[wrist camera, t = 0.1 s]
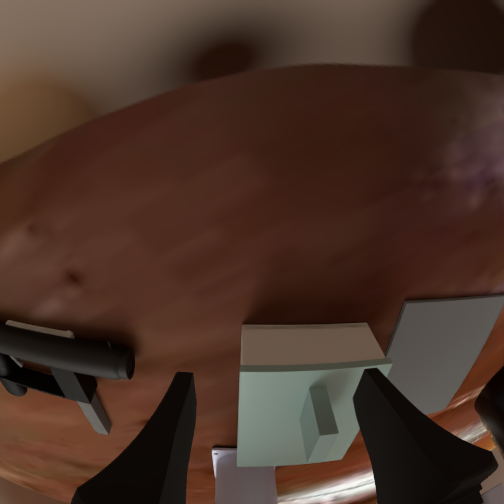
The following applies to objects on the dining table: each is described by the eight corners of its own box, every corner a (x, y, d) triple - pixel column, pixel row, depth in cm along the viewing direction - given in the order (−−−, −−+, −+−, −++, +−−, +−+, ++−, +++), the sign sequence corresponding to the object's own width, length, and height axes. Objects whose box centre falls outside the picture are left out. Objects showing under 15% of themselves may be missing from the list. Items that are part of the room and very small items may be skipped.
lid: (338, 447, 26) (349, 491, 21) (236, 453, 25) (237, 501, 20) (385, 348, 20) (414, 406, 15) (239, 354, 19) (241, 424, 14)
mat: (442, 407, 31) (443, 409, 30) (350, 427, 30) (351, 429, 30) (504, 293, 23) (507, 295, 23) (404, 300, 23) (406, 303, 22)
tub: (330, 421, 29) (338, 454, 25) (238, 425, 28) (238, 460, 24) (366, 322, 23) (386, 360, 19) (241, 324, 23) (243, 367, 19)
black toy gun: (155, 449, 27) (119, 355, 20) (16, 413, 26) (-44, 318, 19) (159, 425, 30) (131, 326, 23) (24, 394, 29) (-28, 300, 22)
